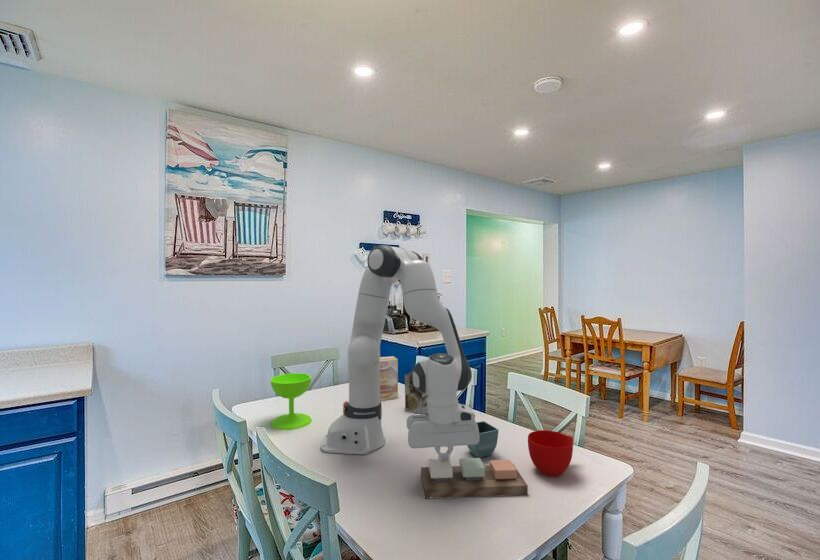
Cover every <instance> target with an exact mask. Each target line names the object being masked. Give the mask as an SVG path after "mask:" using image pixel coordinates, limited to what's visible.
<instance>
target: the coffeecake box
mask: <svg viewBox="0 0 820 560" xmlns="http://www.w3.org/2000/svg"><path fill="white" fill-rule="evenodd" d="M398 368H399V361H398V358H397V357H395V356H393V355H392V356H380V402H382V401H389V400H398V399H399V398H398V397H399V394H398V393H399V386H398V385H399V375H398V374H399V373H398V372H399V369H398Z"/></svg>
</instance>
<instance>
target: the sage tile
mask: <svg viewBox="0 0 820 560" xmlns="http://www.w3.org/2000/svg"><path fill="white" fill-rule="evenodd" d="M484 465H485V464H484V463H483V461H482V459H481V457H480V458H478V457H466V458H464V457H463V458H459V465H458V466H459V467H460V469H461V472H462V475H463V477H464V480H465V481H477V480H481V477H485V467H484Z"/></svg>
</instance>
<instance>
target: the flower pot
mask: <svg viewBox="0 0 820 560" xmlns="http://www.w3.org/2000/svg"><path fill="white" fill-rule="evenodd" d="M476 423H477V425H478V429H479V436H480V441H479V442H478V444H476V445H466V446H467V448H468V450H469V452H470V453H472V454H473V455H474V456H475V457H476V458H480V459H481V458H484V457H488V456H491V455H492V454H493V453H494V451H495V449H496V448H497V444H498V438H499V430H500V429H499V428H497V427H495V426H494V425H492V424H489V423H488V422H487V421H485V420H482V421H476Z"/></svg>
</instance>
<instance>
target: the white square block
mask: <svg viewBox="0 0 820 560" xmlns="http://www.w3.org/2000/svg"><path fill="white" fill-rule="evenodd" d="M452 466H453V465H452V463H451V460H450V461H443V462H439V458H438V459H437V458H436V459H435V458H434V459H428V467H429V471H430V476H431V478H432V481H433V482H448V481H449V478H453V469H452Z"/></svg>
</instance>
